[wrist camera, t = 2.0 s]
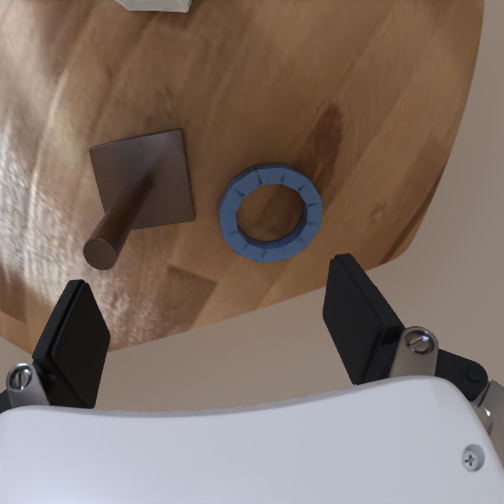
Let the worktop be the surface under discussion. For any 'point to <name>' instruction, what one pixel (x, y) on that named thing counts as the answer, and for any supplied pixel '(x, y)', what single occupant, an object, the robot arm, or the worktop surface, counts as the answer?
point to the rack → (138, 190)
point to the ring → (249, 183)
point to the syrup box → (156, 5)
